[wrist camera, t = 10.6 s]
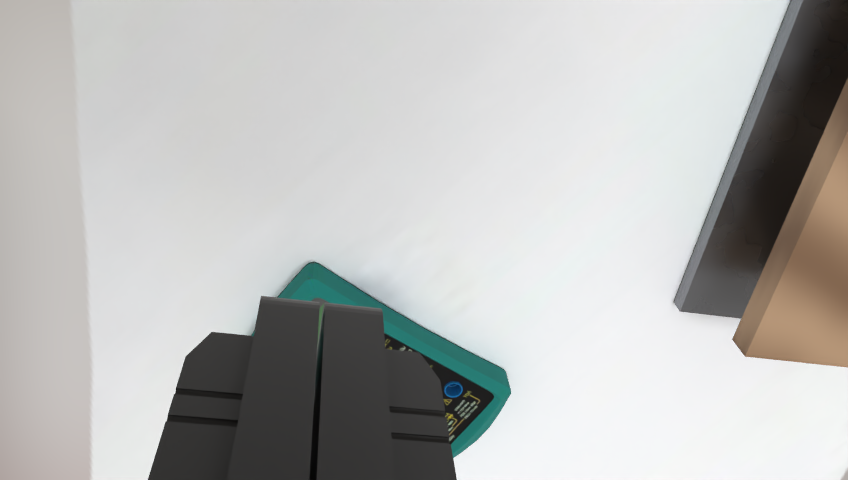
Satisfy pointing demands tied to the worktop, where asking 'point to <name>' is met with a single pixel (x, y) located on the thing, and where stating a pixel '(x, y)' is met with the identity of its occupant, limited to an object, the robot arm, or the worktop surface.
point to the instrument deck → (807, 265)
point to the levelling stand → (769, 158)
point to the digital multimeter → (462, 398)
